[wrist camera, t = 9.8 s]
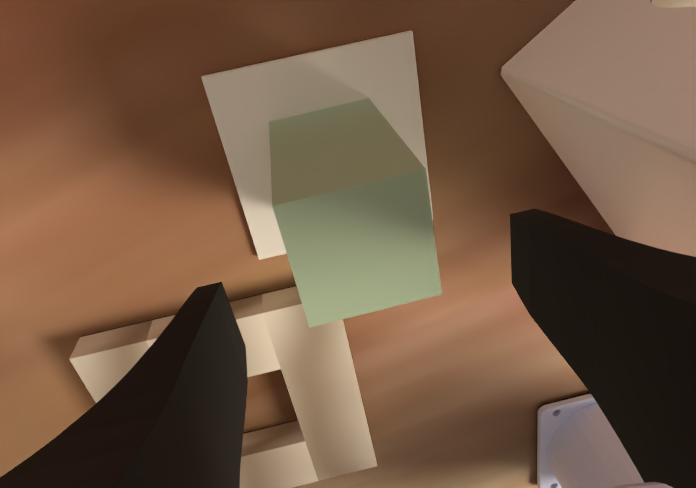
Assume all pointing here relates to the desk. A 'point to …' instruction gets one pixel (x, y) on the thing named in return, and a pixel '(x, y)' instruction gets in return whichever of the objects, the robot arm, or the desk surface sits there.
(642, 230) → the gable box
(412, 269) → the sage block
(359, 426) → the pocket board
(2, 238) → the desk surface
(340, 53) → the mat
